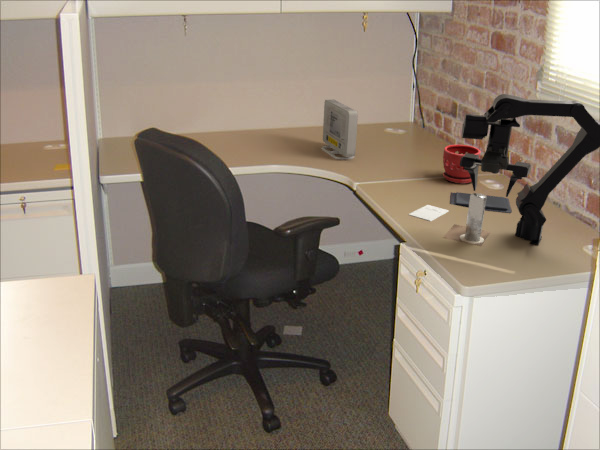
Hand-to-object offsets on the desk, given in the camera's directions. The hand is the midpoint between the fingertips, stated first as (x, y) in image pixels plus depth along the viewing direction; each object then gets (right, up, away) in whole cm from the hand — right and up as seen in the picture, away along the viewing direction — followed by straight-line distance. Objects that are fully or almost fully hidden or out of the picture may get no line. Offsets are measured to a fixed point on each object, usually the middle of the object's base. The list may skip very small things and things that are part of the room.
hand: (490, 193), depth 184 cm
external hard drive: (-14, -7, +19) cm, 25 cm away
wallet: (+6, -2, +31) cm, 32 cm away
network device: (-39, +21, +82) cm, 93 cm away
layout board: (-6, -13, +3) cm, 14 cm away
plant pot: (+4, +7, +53) cm, 54 cm away
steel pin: (-5, -13, 0) cm, 14 cm away
